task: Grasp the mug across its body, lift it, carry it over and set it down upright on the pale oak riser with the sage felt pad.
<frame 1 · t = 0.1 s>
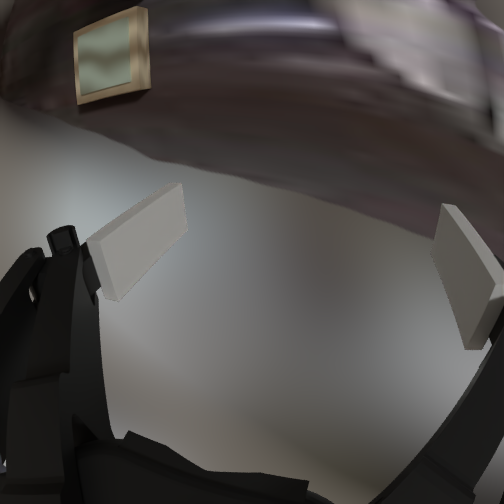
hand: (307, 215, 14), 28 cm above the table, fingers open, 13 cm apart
stand b: (114, 56, 39), on the table
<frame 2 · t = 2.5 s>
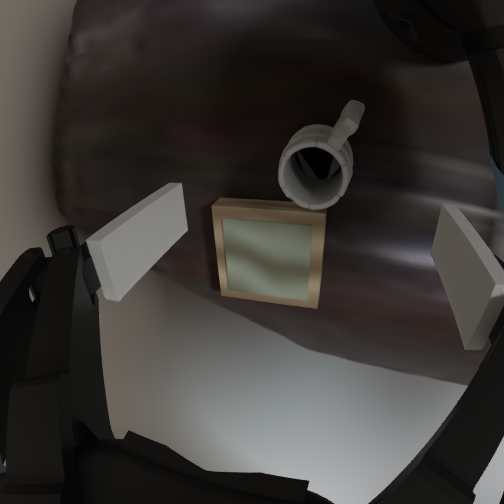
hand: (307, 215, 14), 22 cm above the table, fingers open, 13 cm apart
mug: (329, 140, 33), on the table
stand b: (272, 248, 42), on the table
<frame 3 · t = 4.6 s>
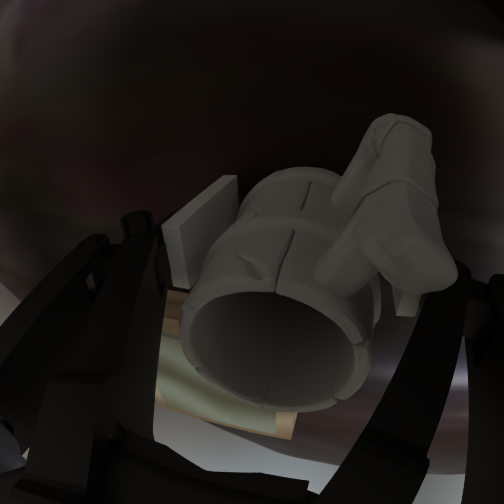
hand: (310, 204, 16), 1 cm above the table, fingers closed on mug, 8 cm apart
mug: (330, 197, 16), on the table, touching gripper
stand b: (222, 359, 26), on the table
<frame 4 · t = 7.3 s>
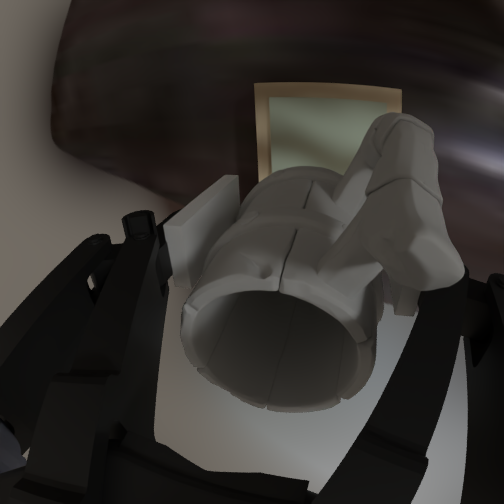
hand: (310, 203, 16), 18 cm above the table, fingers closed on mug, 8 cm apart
mug: (331, 197, 16), point 17 cm above the table, touching gripper
stand b: (329, 148, 30), on the table
when the fingers open (6 cm above the table, at t = 9.9 s): mug drops 1 cm, resting on stand b.
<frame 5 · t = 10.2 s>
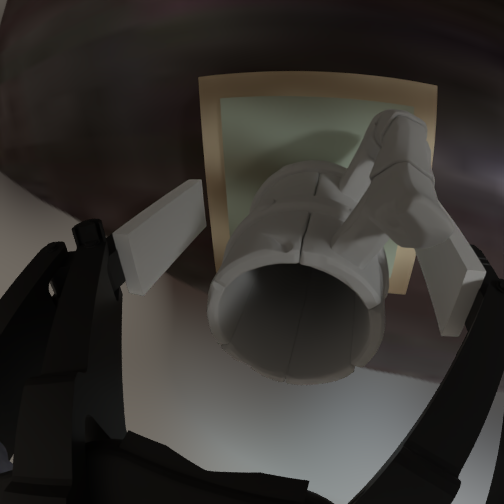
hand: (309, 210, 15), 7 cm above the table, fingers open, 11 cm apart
mug: (336, 189, 17), point 3 cm above the table, touching stand b
stand b: (318, 175, 20), on the table
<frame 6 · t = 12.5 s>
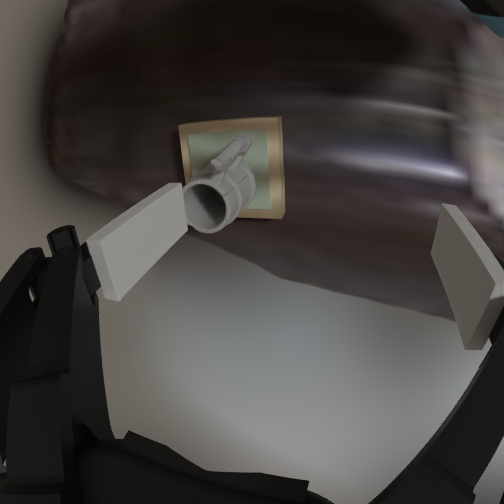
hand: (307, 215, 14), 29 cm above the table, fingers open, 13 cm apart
mug: (237, 169, 41), point 3 cm above the table, touching stand b
stand b: (236, 165, 44), on the table
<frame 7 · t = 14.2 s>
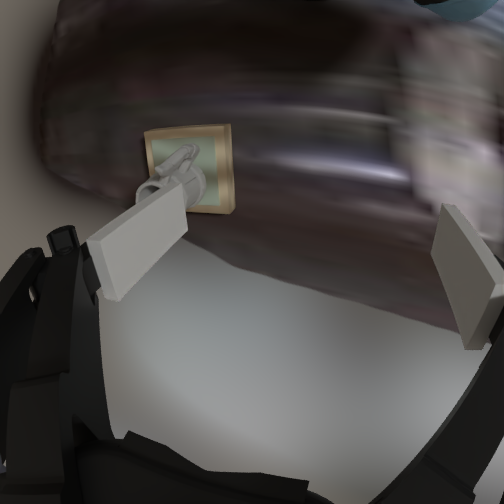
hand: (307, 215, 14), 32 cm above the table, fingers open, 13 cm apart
mug: (191, 170, 46), point 3 cm above the table, touching stand b
stand b: (193, 166, 49), on the table
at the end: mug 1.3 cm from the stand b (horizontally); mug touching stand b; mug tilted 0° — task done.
